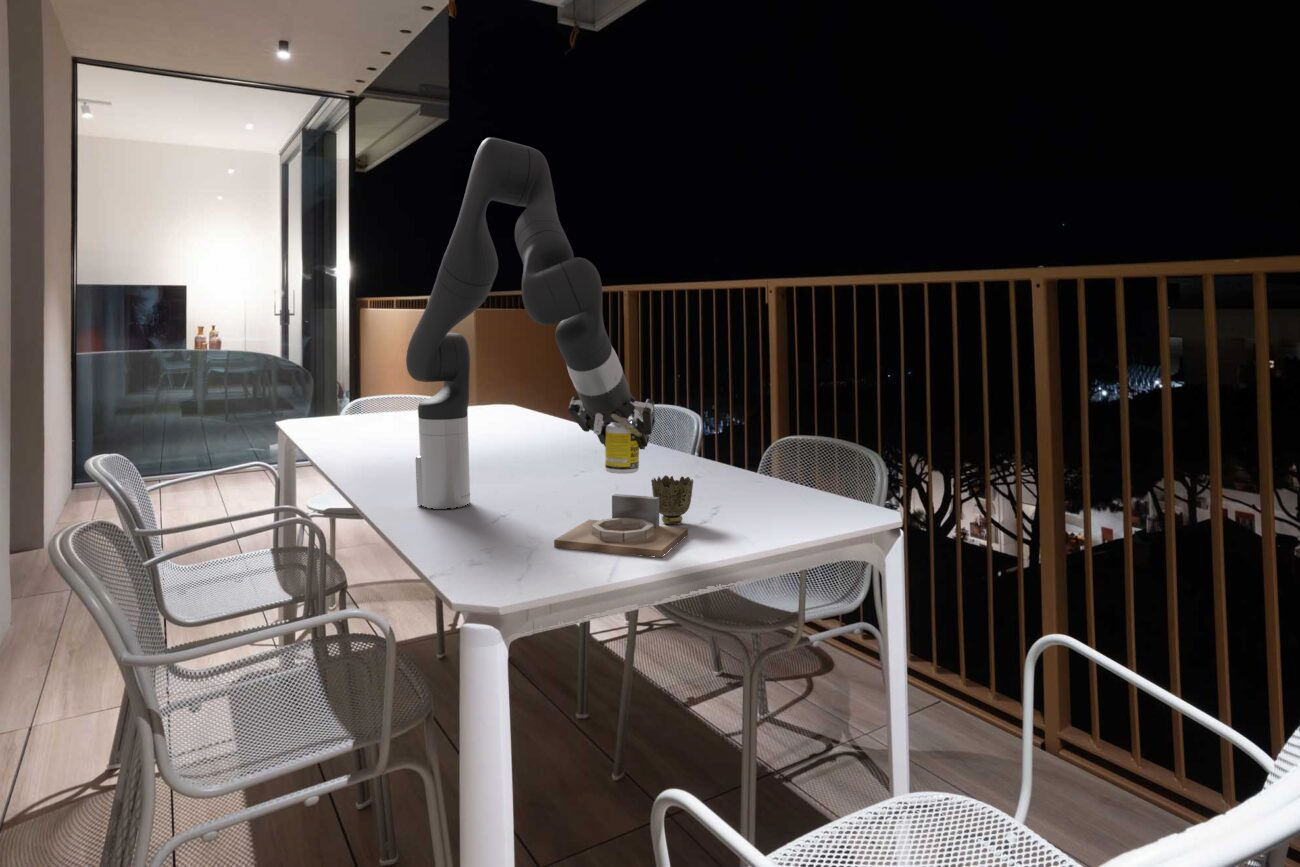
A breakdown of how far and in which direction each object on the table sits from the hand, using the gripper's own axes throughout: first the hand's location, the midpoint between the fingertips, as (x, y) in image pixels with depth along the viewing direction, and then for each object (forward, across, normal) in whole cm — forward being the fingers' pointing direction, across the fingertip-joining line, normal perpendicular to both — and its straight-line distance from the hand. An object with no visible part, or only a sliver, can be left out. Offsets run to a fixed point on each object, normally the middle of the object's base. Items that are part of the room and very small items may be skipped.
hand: (626, 443), depth 133 cm
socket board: (+10, 0, +12) cm, 16 cm away
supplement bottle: (+2, 0, +4) cm, 5 cm away
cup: (+20, -4, +2) cm, 21 cm away
